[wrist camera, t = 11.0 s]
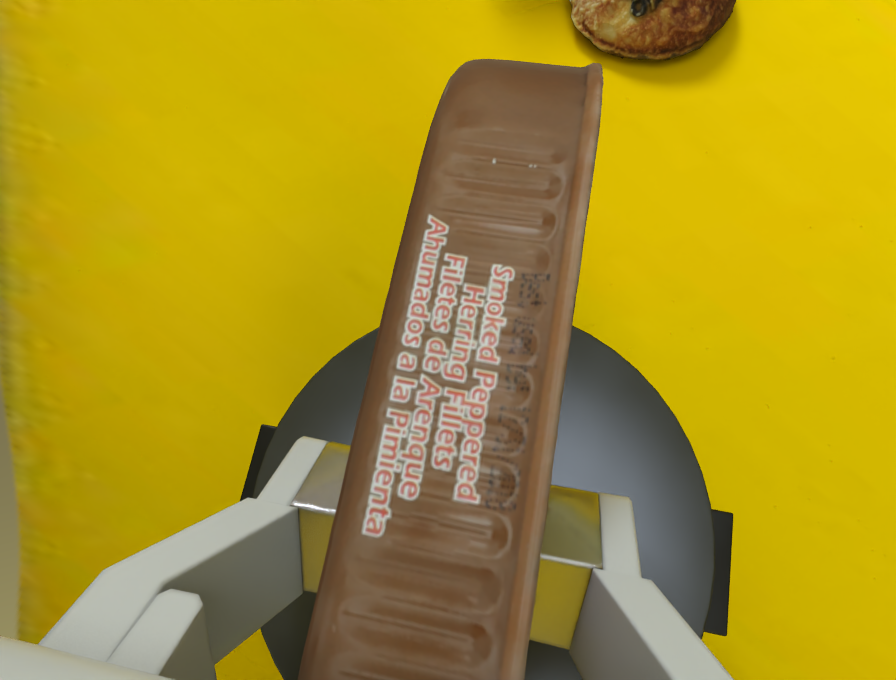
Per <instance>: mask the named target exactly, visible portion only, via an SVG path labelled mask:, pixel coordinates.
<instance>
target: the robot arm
mask: <svg viewBox="0 0 896 680" xmlns="http://www.w3.org/2000/svg"><path fill="white" fill-rule="evenodd" d="M350 447H351V445H346V444H341V443H336V442H332V441H331V442H328V441H324V440H320V439H315V438H310V437H306V436H303V437H301V438H299V439H298V440H297V441H296V442H295V443H294V445H293V446H292V448H291V449H290V451H289V452H288V454H287V455H286V456H285V458H284V459H283V461H282V462H281V464H280V465H279V467H278V468H277V470H276V471H275V473H274V474H273V475H272V477H271V478H270V480H269V481H268V483H267V484H266V486H265V487H264V489H263V490H262V492H261V493H260V495H259V496H258V497H257V499H253V498H246V499H244V500H242V501H240V502H238V503H236V504H234V505H232V506H230V507H228V508H226V509H224V510H222V511H220V512H218V513H216V514H214V515H212V516H210V517H208V518H206V519H204V520H202V521H200V522H198V523H196V524H194V525H192V526H190V527H188V528H186V529H184V530H182V531H180V532H178V533H176V534H174V535H172V536H170V537H168V538H166V539H164V540H162V541H160V542H158V543H156V544H154V545H152V546H150V547H148V548H146V549H144V550H142V551H140V552H138V553H136V554H134V555H132V556H130V557H128V558H126V559H124V560H122V561H120V562H118V563H116V564H114V565H112V566H110V567H108V568H106V569H104V570H103V571H102V572H101V573H100V574H99V575H98V577H97V578H96V579H95V580H94V581H93V582H92V583H91V585H90V586H89V587H88V588H87V589H86V590H85V591H84V593H83V594H82V595H81V596H80V597H79V598H78V599H77V600H76V602H75V603H74V604H73V605H72V606H71V607H70V608H69V610H68V611H67V612H66V613H65V614H64V615H63V616H62V618H61V619H60V620H59V621H58V622H57V623H56V624H55V626H54V627H53V628H52V629H51V630H50V631H49V632H48V633H47V635H46V636H45V637H44V638H43V639H42V640H41V641H40V643H39V644H38V645H36V644H32V643H28V642H24V641H20V640H16V639H12V638H8V637H4V636H0V680H217V679H216V673H215V668H214V665H215V664H216V663H217V662H219V661H220V660H221V659H222V658H224V657H225V656H226V655H227V654H229V653H230V652H231V651H232V650H233V649H235V648H236V647H237V646H238V645H240V644H241V643H242V642H243V641H245V640H246V639H247V638H248V637H250V636H251V635H252V634H253V633H254V632H256V631H257V630H258V629H259V628H261V627H262V626H263V625H264V624H266V623H267V622H268V621H269V620H270V619H272V618H273V617H274V616H275V615H277V614H278V613H279V612H280V611H282V610H283V609H284V608H285V607H287V606H288V605H289V604H290V603H291V602H293V601H294V600H295V599H296V598H298V597H299V596H300V595H301V594H303V590H304V591H310V592H315V593H317V590H318V586H319V581H320V577H321V573H322V569H323V564H324V560H325V556H326V552H327V547H328V543H329V538H330V532H331V527H332V524H333V520H334V516H335V513H336V509H337V505H338V501H339V496H340V492H341V487H342V483H343V478H344V474H345V469H346V465H347V461H348V456H349V452H350ZM529 640H533V641H537V642H540V643H544V644H548V645H552V646H556V647H560V648H564V649H568V650H570V651H569V654H570V656H571V658H572V659H573V661H574V663H575V665H576V667H577V669H578V671H579V673H580V675H581V677H582V679H583V680H734V679H733V678H732V677H731V676H730V674H729V673H728V672H727V671H726V670H725V668H724V667H723V666H722V665H721V664H720V662H719V661H718V660H717V659H716V657H715V656H714V655H713V654H712V653H711V651H710V650H709V649H708V648H707V647H706V645H705V644H704V643H703V642H702V641H701V639H700V638H699V637H698V636H697V634H696V633H695V632H694V631H693V630H692V628H691V627H690V626H689V625H688V624H687V622H686V621H685V620H684V619H683V618H682V616H681V615H680V614H679V613H678V612H677V610H676V609H675V608H674V607H673V605H672V604H671V603H670V602H669V601H668V599H667V598H666V597H665V596H664V595H663V593H662V592H661V591H660V590H659V589H658V587H657V586H656V585H655V584H654V582H653V581H652V580H648V579H644V578H642V576H641V568H640V561H639V553H638V545H637V538H636V530H635V522H634V515H633V507H632V501H631V500H630V498H629V497H625V496H619V495H613V494H607V493H601V492H598V493H596V492H592V491H586V490H581V489H575V488H570V487H564V486H559V485H553V484H551V486H550V495H549V502H548V509H547V517H546V525H545V531H544V537H543V543H542V549H541V556H540V565H539V574H538V581H537V589H536V596H535V604H534V611H533V618H532V624H531V631H530V638H529Z"/></svg>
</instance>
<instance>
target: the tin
mask: <svg viewBox="0 0 896 680" xmlns="http://www.w3.org/2000/svg"><path fill="white" fill-rule="evenodd" d="M602 74H603V72H602V66H601V64H599V63H592V64H590V65H588V66H586V67H581V68H580V67H570V66H560V65H550V64H540V63H530V62H521V61H511V60H496V59H479V60H472V61H469V62H466V63H464V64H463V65H462V66H460V67H459V68H458V69H457V71H456V72H455V73H454V74H453V75H452V76H451V77H450V79H449V81H448V83H447V85H446V87H445V89H444V92H443V94H442V96H441V99H440V101H439V104H438V107H437V110H436V112H435V115H434V118H433V121H432V123H431V126H430V130H429V134H428V137H427V141H426V144H425V148H424V151H423V155H422V159H421V163H420V166H419V170H418V175H417V179H416V183H415V187H414V191H413V195H412V199H411V203H410V206H409V210H408V214H407V218H406V222H405V226H404V230H403V234H402V238H401V242H400V246H399V250H398V254H397V257H396V261H395V265H394V269H393V274H392V278H391V283H390V288H389V291H388V295H387V298H386V302H385V306H384V310H383V314H382V319H381V323H380V327H379V331H378V335H377V339H376V343H375V347H374V351H373V356H372V360H371V364H370V368H369V373H368V377H367V382H366V386H365V391H364V395H363V399H362V403H361V407H360V411H359V414H358V418H357V422H356V426H355V430H354V435H353V439H352V443H351V447H350V452H349V456H348V461H347V465H346V469H345V474H344V478H343V483H342V487H341V492H340V496H339V501H338V505H337V509H336V513H335V516H334V520H333V524H332V527H331V532H330V538H329V543H328V547H327V552H326V556H325V560H324V564H323V569H322V573H321V577H320V581H319V586H318V590H317V595H316V599H315V604H314V608H313V613H312V617H311V621H310V625H309V630H308V634H307V638H306V642H305V647H304V651H303V655H302V660H301V665H300V670H299V675H298V680H524V678H525V669H526V660H527V651H528V645H529V638H530V631H531V624H532V618H533V611H534V604H535V596H536V589H537V581H538V574H539V565H540V556H541V549H542V543H543V537H544V531H545V525H546V517H547V509H548V502H549V495H550V486H551V481H552V470H553V461H554V453H555V448H556V442H557V436H558V424H559V417H560V408H561V401H562V395H563V389H564V382H565V375H566V367H567V360H568V352H569V344H570V338H571V330H572V321H573V314H574V307H575V300H576V292H577V287H578V281H579V273H580V266H581V258H582V250H583V242H584V234H585V226H586V220H587V214H588V208H589V200H590V193H591V187H592V180H593V172H594V165H595V158H596V150H597V143H598V136H599V128H600V117H601V105H602V88H603V76H602Z"/></svg>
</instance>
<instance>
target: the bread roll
mask: <svg viewBox="0 0 896 680" xmlns="http://www.w3.org/2000/svg"><path fill="white" fill-rule="evenodd" d="M735 2H736V0H570V3H571V5H572V13H571V18H572V20H573V22H574V25H575V27H576V28H577V29H578V30H579V31H580V32H582V33H583V35H584V36H585V37H587V38H588V39H590V40H591V42H593V44H594V45H596V47H597V48H598V49H599V50H600V49H601V50H602V51H603V52H607V53H610V54H612V55H617V56H620V57H621V58H623V57H626V58H631V59H655V60H657V59H663V60H666V59H671V58H674V57H677V56H681V55H684V54H686V53H689V52H691V51H693V50H696V49H699V48H700V47H701V46H702V45H703V44H704V43H705V42H706V41H708V40H709V38H710V37H711V36H712V35H713V34H714V33H716V32H717V31H718V30H719V29H720V28H721V27H722V26H723V25H724V24H725V22H726V21H727V20H728V18H729V17H730V15H731V13H732V12H733V7H734V4H735Z"/></svg>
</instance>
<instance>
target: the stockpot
mask: <svg viewBox="0 0 896 680" xmlns="http://www.w3.org/2000/svg"><path fill="white" fill-rule="evenodd" d="M378 331H379V328H377V329H375V330H373V331H372V332H370V333H368V334H366V335H365V336H363V337H361V338H359V339H358V340H356V341H354V342H353V343H352V344H350V345H349V346H348V347H346V348H345V349H344V350H342V351H341V352H340V353H338V354H337V355H336V356H334V357H333V358H332V359H331V360H330V361H329V362H328V363H327V364H326V365H325V366H324V367H322V368H321V369H320V370H319V371H318V372H317V373H316V374H315V375H314V376H313V377H312V378H311V379H310V381H309V382H308V383H307V384H306V386H305V387H304V388H303V389H302V390H301V392H300V393H299V394H298V395H297V397H296V398H295V399H294V401H293V402H292V404H291V405H290V407H289V408H288V410H287V411H286V413H285V415H284V416H283V418H282V419H281V421H280V422H279V424H278V426H277V427H275V426H269V425H264V424H263V425H261V428H260V432H259V435H258V439H257V442H256V446H255V449H254V453H253V457H252V460H251V464H250V467H249V471H248V474H247V478H246V481H245V485H244V488H243V492H242V496H241V499H240V501H242V500H244V499H246V498H253V499H257V497H258V496H259V495H260V493H261V492H262V490H263V489H264V487H265V486H266V484H267V483H268V481H269V480H270V478H271V477H272V475H273V474H274V473H275V471H276V470H277V468H278V467H279V465H280V464H281V462H282V461H283V459H284V458H285V456H286V455H287V454H288V452H289V451H290V449H291V448H292V446H293V445H294V443H295V442H296V441H297V440H298V439H299V438H301V437H303V436H306V437H310V438H315V439H320V440H324V441H328V442H331V441H332V442H336V443H341V444H346V445H351V443H352V439H353V435H354V430H355V426H356V422H357V418H358V414H359V411H360V407H361V403H362V399H363V395H364V391H365V386H366V382H367V377H368V373H369V368H370V364H371V360H372V356H373V351H374V347H375V343H376V339H377V335H378ZM551 484H553V485H559V486H564V487H570V488H575V489H581V490H586V491H592V492H596V493H598V492H601V493H607V494H613V495H619V496H625V497H629V498H630V500H631V501H632V507H633V515H634V522H635V530H636V538H637V545H638V553H639V561H640V568H641V576H642V578H644V579H648V580H652V581H653V582H654V584H655V585H656V586H657V587H658V589H659V590H660V591H661V592H662V593H663V595H664V596H665V597H666V598H667V599H668V601H669V602H670V603H671V604H672V605H673V607H674V608H675V609H676V610H677V612H678V613H679V614H680V615H681V616H682V618H683V619H684V620H685V621H686V622H687V624H688V625H689V626H690V627H691V628H692V630H693V631H694V632H695V633H696V634H697V636H698V637H699V638H700V639H702V636H703V632H707V633H712V634H717V635H721V636H726V635H727V623H728V604H729V585H730V566H731V547H732V529H733V514H732V513H729V512H724V511H719V510H713V509H711V504H710V500H709V497H708V493H707V489H706V485H705V481H704V478H703V474H702V471H701V469H700V466H699V464H698V461H697V459H696V456H695V454H694V451H693V449H692V446H691V444H690V442H689V440H688V438H687V436H686V435H685V433H684V431H683V429H682V427H681V426H680V424H679V422H678V420H677V418H676V417H675V415H674V414H673V412H672V411H671V410H670V408H669V407H668V405H667V404H666V403H665V401H664V400H663V398H662V397H661V396H660V394H659V393H658V392H657V390H656V389H655V388H654V387H653V386H652V385H651V384H650V383H649V382H648V381H647V380H646V379H645V378H644V376H643V375H642V374H641V373H640V372H639V371H638V370H637V369H636V368H635V367H634V366H632V365H631V364H630V363H629V362H628V361H626V360H625V359H624V358H623V357H622V356H621V355H619V354H618V353H617V352H616V351H615V350H613V349H612V348H610V347H609V346H607V345H605V344H604V343H602V342H601V341H599V340H598V339H596V338H595V337H593V336H592V335H590V334H588V333H586V332H584V331H582V330H580V329H578V328H576V327H574V326H572V330H571V338H570V344H569V352H568V360H567V367H566V375H565V382H564V389H563V395H562V401H561V408H560V417H559V424H558V436H557V442H556V448H555V453H554V461H553V470H552V481H551ZM316 595H317V593H315V592H310V591H304V590H303V594H301V595H300V596H299V597H298V598H296V599H295V600H294V601H293V602H291V603H290V604H289V605H288V606H287V607H285V608H284V609H283V610H282V611H280V612H279V613H278V614H277V615H275V616H274V617H273V618H272V619H270V620H269V621H268V622H267V623H266V624H264V625H263V626H262V627H261V632H262V635H263V637H264V640H265V642H266V644H267V647H268V649H269V651H270V654H271V656H272V658H273V661H274V663H275V665H276V667H277V668H278V670H279V672H280V673H281V675H282V677H283V679H284V680H298V675H299V670H300V665H301V660H302V655H303V651H304V647H305V642H306V638H307V634H308V630H309V625H310V621H311V617H312V613H313V608H314V604H315V599H316ZM569 651H570V650H568V649H564V648H560V647H556V646H552V645H548V644H544V643H540V642H537V641H533V640H529V645H528V651H527V660H526V669H525V678H524V680H583V679H582V677H581V675H580V673H579V671H578V669H577V667H576V665H575V663H574V661H573V659H572V658H571V656H570V654H569Z"/></svg>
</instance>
